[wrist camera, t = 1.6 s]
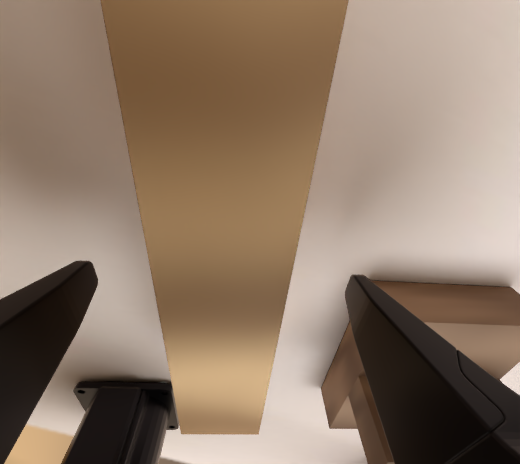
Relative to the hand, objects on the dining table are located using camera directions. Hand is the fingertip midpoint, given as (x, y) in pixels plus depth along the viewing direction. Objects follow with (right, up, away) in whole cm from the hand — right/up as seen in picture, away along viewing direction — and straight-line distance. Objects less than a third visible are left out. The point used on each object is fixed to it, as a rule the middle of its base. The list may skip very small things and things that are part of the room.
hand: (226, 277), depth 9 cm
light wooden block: (0, +2, +3) cm, 3 cm away
